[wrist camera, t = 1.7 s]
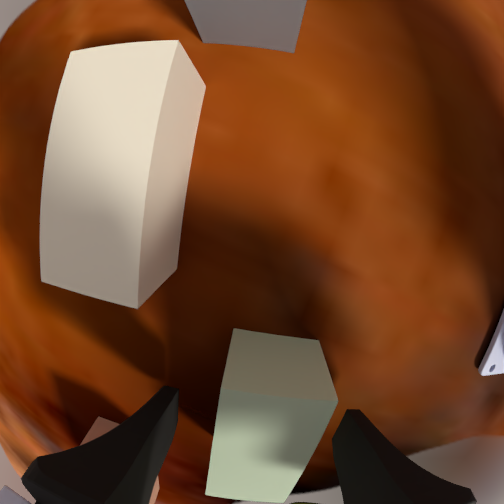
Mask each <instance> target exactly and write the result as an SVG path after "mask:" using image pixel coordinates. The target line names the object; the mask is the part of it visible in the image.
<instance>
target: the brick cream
mask: <svg viewBox="0 0 504 504" xmlns="http://www.w3.org/2000/svg"><path fill="white" fill-rule="evenodd" d="M205 88H206V86H205V84H204V82H203V81H202V79H201V77H200V75H199V74H198V72H197V70H196V69H195V67H194V65H193V64H192V62H191V60H190V59H189V57H188V55H187V54H186V52H185V50H184V49H183V47H182V45H181V44H180V42H179V40H165V41H145V42H132V43H122V44H114V45H106V46H99V47H93V48H87V49H82V50H77V51H72V52H71V53H70V56H69V59H68V62H67V65H66V68H65V71H64V75H63V78H62V81H61V85H60V88H59V92H58V96H57V100H56V104H55V108H54V113H53V117H52V122H51V127H50V132H49V138H48V143H47V150H46V156H45V164H44V172H43V181H42V193H41V208H40V269H41V281H42V282H45V283H48V284H51V285H54V286H57V287H60V288H64V289H67V290H70V291H73V292H77V293H80V294H83V295H87V296H90V297H94V298H97V299H101V300H105V301H108V302H112V303H116V304H120V305H124V306H127V307H131V308H135V309H138V308H139V307H140V306H141V305H142V304H143V303H144V302H145V301H146V300H147V299H148V298H149V297H150V296H151V295H152V294H153V293H154V292H155V291H156V290H157V289H158V288H159V287H160V286H161V285H162V284H163V283H164V282H165V281H166V280H167V279H168V278H169V277H170V276H171V275H172V274H173V273H174V272H175V271H176V270H177V263H178V254H179V245H180V236H181V228H182V220H183V212H184V205H185V198H186V191H187V185H188V178H189V172H190V166H191V160H192V154H193V148H194V143H195V137H196V132H197V127H198V122H199V117H200V112H201V107H202V102H203V97H204V93H205Z"/></svg>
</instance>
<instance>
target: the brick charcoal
mask: <svg viewBox="0 0 504 504" xmlns="http://www.w3.org/2000/svg"><path fill="white" fill-rule="evenodd" d="M184 1H185V3H186V5H187V7H188V9H189V12H190V14H191V16H192V18H193V21H194V23H195V25H196V27H197V30H198V32H199V34H200V36H201V39H202V41H203V43H217V44H231V45H241V46H251V47H259V48H266V49H273V50H279V51H285V52H291V53H294V51H295V47H296V42H297V38H298V34H299V30H300V26H301V22H302V18H303V14H304V9H305V5H306V1H307V0H184Z"/></svg>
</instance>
